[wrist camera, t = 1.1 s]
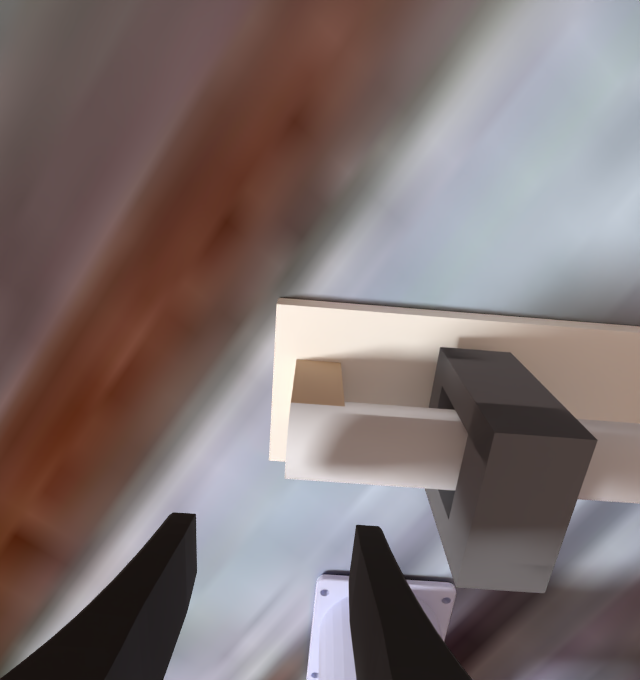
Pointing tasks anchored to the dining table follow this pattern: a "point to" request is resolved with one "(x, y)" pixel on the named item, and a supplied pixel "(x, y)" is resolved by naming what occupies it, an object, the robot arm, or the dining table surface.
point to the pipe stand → (416, 387)
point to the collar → (506, 472)
